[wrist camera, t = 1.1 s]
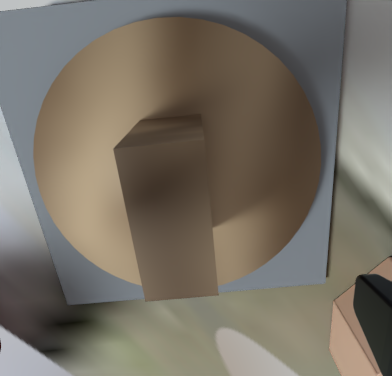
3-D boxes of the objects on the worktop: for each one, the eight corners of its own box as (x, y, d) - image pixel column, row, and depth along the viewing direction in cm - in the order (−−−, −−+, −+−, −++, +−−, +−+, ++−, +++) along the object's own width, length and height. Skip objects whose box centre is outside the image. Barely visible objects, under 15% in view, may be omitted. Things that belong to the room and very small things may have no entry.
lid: (323, 1, 13) (415, -43, 7) (309, 270, 18) (357, 358, 13) (0, 38, 13) (-130, 22, 8) (79, 291, 19) (33, 383, 13)
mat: (344, -27, 13) (349, -30, 12) (322, 278, 19) (325, 283, 18) (-25, 16, 13) (-31, 15, 13) (70, 300, 19) (67, 305, 19)
